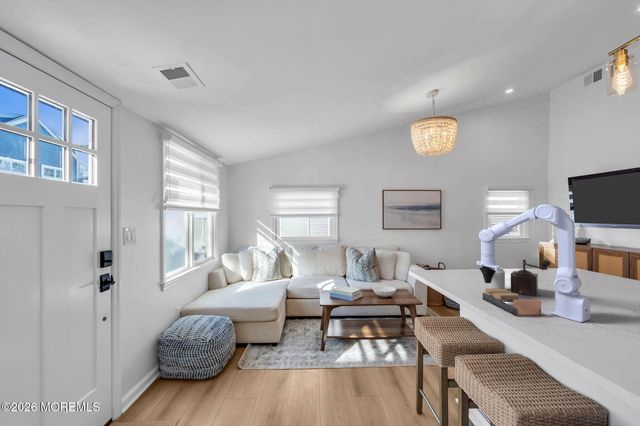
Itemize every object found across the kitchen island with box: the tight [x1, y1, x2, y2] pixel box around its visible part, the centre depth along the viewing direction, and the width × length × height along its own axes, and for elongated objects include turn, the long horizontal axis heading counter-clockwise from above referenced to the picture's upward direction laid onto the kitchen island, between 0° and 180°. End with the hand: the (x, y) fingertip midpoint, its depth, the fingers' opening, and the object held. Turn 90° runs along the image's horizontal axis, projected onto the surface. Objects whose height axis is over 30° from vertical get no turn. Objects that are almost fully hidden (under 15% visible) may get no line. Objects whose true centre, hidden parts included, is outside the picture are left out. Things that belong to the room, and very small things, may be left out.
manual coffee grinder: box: [509, 258, 552, 297], centre depth 130 cm, size 16×11×18 cm
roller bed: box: [482, 292, 542, 317], centre depth 112 cm, size 20×10×6 cm, turn 2°
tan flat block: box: [484, 288, 520, 300], centre depth 117 cm, size 10×8×2 cm
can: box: [486, 267, 506, 290], centre depth 135 cm, size 8×8×12 cm
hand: (487, 282), depth 126 cm, fingers closed
